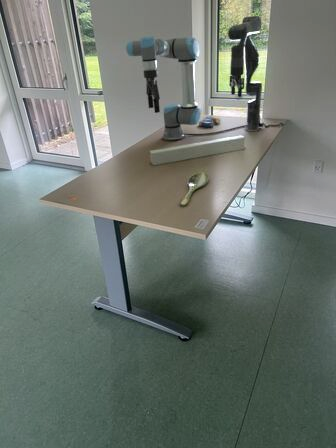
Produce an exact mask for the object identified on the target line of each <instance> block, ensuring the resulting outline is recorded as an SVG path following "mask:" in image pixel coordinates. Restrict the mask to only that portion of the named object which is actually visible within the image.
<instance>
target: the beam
mask: <svg viewBox="0 0 336 448" xmlns="http://www.w3.org/2000/svg"><path fill="white" fill-rule="evenodd" d="M245 138H246V137H245V136H243V135H242V134H241V135H235V136H230V137H223V138H217V139H211V140H206V141H205V140H204V141H200V142H194V143H187V144H183V145H176V146H170V147H166V148H159V149H154V150H150V151H149V152H150V161H151V162H150V163H151V165H152V166H159V165H164V164H170V163H174V162H175V163H176V162H180V161H185V160H192V159H196V158H202V157H208V156H212V155H213V156H214V155H218V154H224V153H229V152H234V151H240V150H244V149H245V143H246V142H245V141H246V140H245Z"/></svg>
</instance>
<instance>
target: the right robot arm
mask: <svg viewBox="0 0 336 448" xmlns="http://www.w3.org/2000/svg"><path fill="white" fill-rule="evenodd" d="M261 29H262V18H261V16H259V15H253V16H245V17H244V18H242V22H241V23H240V24H235V25H232V26H230V27H229V28H228V30H227V31H228V32H227V37H228V39H229V40H230V41H234V42H235V41H239V43H238V44H235V45H232V46H231V49H230V64H229V65H230V67H229V68H230V71H229V72H230V73H229V82H228V83H229V84H228V85H229V87H230V89H231V90H230V95H236V88H237V98H241V97H242V96H243V90H244V89H245V94H246V96H248V97H254V98H253V99H251V100H249V101H247V103H246V122H245V125H246V126H245V130H246V131H248V132H256V131H259V130H260V128H264V127H265V128H268V127H279V126H280V125H282V126H283V125H285V124H284V123H283V122H280V123H278V124H268V125H266V123H264V121H261V101H262V93H263V92H262V91H263V83H262V82H261V81H252V78H253V75H254V74H255V72H256V71H257V70H258V67H259V65H260V52H259V51H258V49H257V47H256V46H255V44H254V43H253V41H252V39H251V36H250V35H252V34H253V35H254V34H258V33H260V31H261ZM244 69H245V70H244ZM244 71H245V77H242V76H243V75H244Z"/></svg>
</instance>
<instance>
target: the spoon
mask: <svg viewBox="0 0 336 448" xmlns="http://www.w3.org/2000/svg"><path fill="white" fill-rule="evenodd" d="M209 180H210V176H209V174H208V173H206V172H203V171H200V172H199V171H198V172H195V173H194V174H192V175H191V176H189V178H188V180H187V185H188V187H189V188H188V189H189V190H188V192H187V193H186V195H185V196H184V197H183V198H182V200H181V202H180V206H183V207H185V206H187V205H188V203H189V201H190V199H191V197H192V195H193V193H194V191H196V190H197V189H199V188H201V187H203V186H205V185H206V184H207V183H208V182H209Z"/></svg>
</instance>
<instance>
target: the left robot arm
mask: <svg viewBox="0 0 336 448" xmlns="http://www.w3.org/2000/svg"><path fill="white" fill-rule="evenodd" d="M125 49H126V53H127V55H128V56H129V57H141V60H142V61H141V62H142V69H143V78H144V79H146V81H145V82H146V84H145V85H146V87H145V88H146V91H145V92H146V93H145V94H146V95H147V102H148V103H147V105H148V109H153V108H154V113H155V114H158V113H160V112H161V111H160V99H161V98H160V92H159V87H158V80H156V79H155V78H158V77H159V73H158V69H157V68H158V63H159V62H158V61H157V56H158V57H160V58H165V59H172V60H173V59H174V60H175V59H176V60H177V61H178V63H179V65H180V74H181V75H180V77H181V78H180V79H181V98H182V103H181V104H178V103H176V104H169V105H166V106H165V107H164V108H163V122H164V130H163V135H162V139H163V140H164V141H167V142H176V141H180V140H182V139H184V137H185V136H187V135H188V136H204V135H205V136H206V135H214V134H219V133H224V132H227V131H232V130H236V129H239V128H246V124H244V125H240V126H236V127H231V128H228V129H224V130H220V131H214V132H206V133H184V132H183V129H182V126H181V125H188V126H196V125H197V124H199V122H200V121H201V114H202V110H201V108H200V107H198V106H199V105H198V103H197V102H196V86H195V84H196V83H195V81H196V80H195V63H196V62H197V58H199V56H200V46H199V43H198V40H197V39H196V38H195V37H179V38H169V39H163V38H155V36H152V35H151V36H142V37H140V40H130V41H128V42H127V43H126V46H125Z"/></svg>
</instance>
